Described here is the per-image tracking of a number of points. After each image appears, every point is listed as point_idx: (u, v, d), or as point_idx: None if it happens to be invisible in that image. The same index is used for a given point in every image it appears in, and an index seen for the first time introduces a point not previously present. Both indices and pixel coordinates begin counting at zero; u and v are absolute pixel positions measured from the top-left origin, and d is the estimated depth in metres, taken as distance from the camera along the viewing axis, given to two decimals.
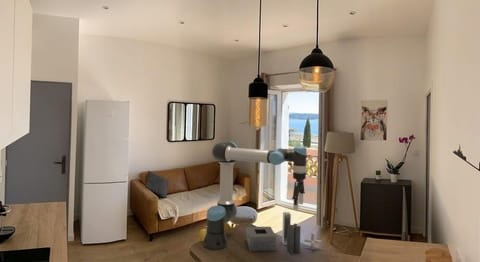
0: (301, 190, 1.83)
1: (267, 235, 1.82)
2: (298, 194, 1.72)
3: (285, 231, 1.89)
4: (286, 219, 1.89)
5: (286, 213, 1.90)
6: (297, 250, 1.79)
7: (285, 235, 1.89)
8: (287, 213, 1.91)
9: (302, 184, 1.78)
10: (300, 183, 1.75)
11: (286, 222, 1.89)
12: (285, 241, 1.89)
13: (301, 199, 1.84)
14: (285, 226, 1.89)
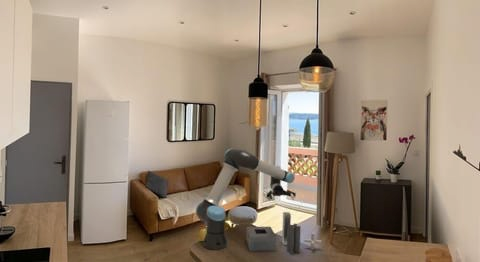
0: (273, 195, 2.06)
1: (267, 235, 1.82)
2: (289, 195, 2.07)
3: (285, 231, 1.89)
4: (286, 219, 1.89)
5: (286, 213, 1.90)
6: (297, 250, 1.79)
7: (285, 235, 1.89)
8: (287, 213, 1.91)
9: (277, 195, 2.11)
10: None
11: (286, 222, 1.89)
12: (285, 241, 1.89)
13: None
14: (285, 226, 1.89)
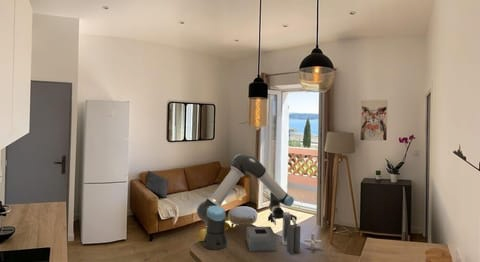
0: (274, 218, 2.04)
1: (267, 235, 1.82)
2: None
3: (285, 231, 1.89)
4: (286, 219, 1.89)
5: (286, 213, 1.90)
6: (297, 250, 1.79)
7: (285, 235, 1.89)
8: (287, 213, 1.91)
9: (278, 218, 2.10)
10: None
11: (286, 222, 1.89)
12: (285, 241, 1.89)
13: None
14: (285, 226, 1.89)
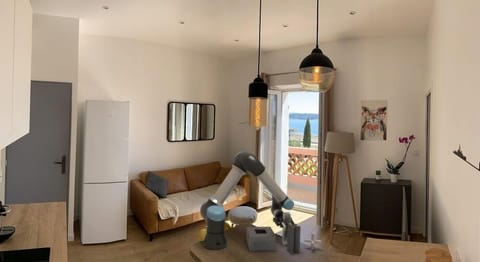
0: None
1: (267, 235, 1.82)
2: None
3: (285, 231, 1.89)
4: (286, 219, 1.89)
5: (286, 213, 1.90)
6: (297, 250, 1.79)
7: (285, 235, 1.89)
8: (287, 213, 1.91)
9: None
10: None
11: (286, 222, 1.89)
12: (285, 241, 1.89)
13: None
14: None
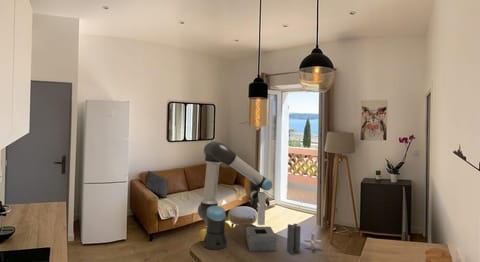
0: None
1: (267, 235, 1.82)
2: None
3: (260, 211, 1.85)
4: (261, 198, 1.85)
5: (261, 192, 1.86)
6: (297, 250, 1.79)
7: (260, 215, 1.85)
8: (262, 192, 1.87)
9: (257, 203, 1.97)
10: None
11: (261, 202, 1.85)
12: (260, 221, 1.85)
13: None
14: (260, 206, 1.85)
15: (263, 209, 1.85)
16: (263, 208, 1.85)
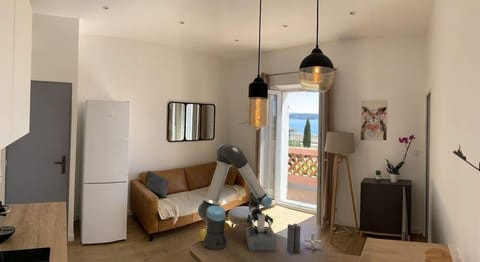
0: (253, 220, 1.92)
1: (267, 235, 1.82)
2: (267, 221, 1.93)
3: (259, 232, 1.86)
4: (260, 220, 1.85)
5: (260, 214, 1.87)
6: (297, 250, 1.79)
7: None
8: (261, 214, 1.87)
9: (256, 219, 1.98)
10: None
11: (260, 224, 1.85)
12: None
13: (253, 224, 1.86)
14: (259, 227, 1.86)
15: (262, 231, 1.86)
16: (262, 230, 1.86)
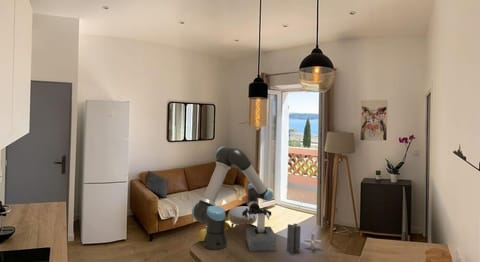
0: (248, 214, 2.05)
1: (267, 235, 1.82)
2: (265, 214, 2.06)
3: (259, 233, 1.86)
4: (260, 220, 1.85)
5: (260, 214, 1.87)
6: (297, 250, 1.79)
7: None
8: (261, 214, 1.87)
9: (253, 213, 2.10)
10: None
11: (260, 224, 1.85)
12: None
13: (248, 217, 1.99)
14: (259, 227, 1.86)
15: (262, 231, 1.86)
16: (262, 230, 1.86)
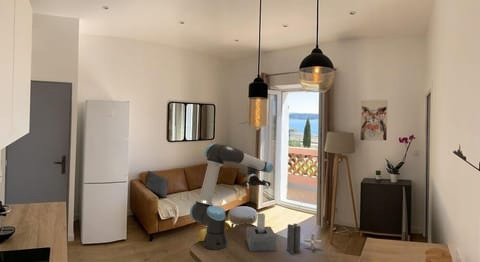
0: (248, 184, 2.10)
1: (267, 235, 1.82)
2: None
3: (259, 233, 1.86)
4: (260, 220, 1.85)
5: (260, 214, 1.87)
6: (297, 250, 1.79)
7: None
8: (261, 214, 1.87)
9: (253, 184, 2.15)
10: None
11: (260, 224, 1.85)
12: None
13: None
14: (259, 227, 1.86)
15: (262, 231, 1.86)
16: (262, 230, 1.86)
